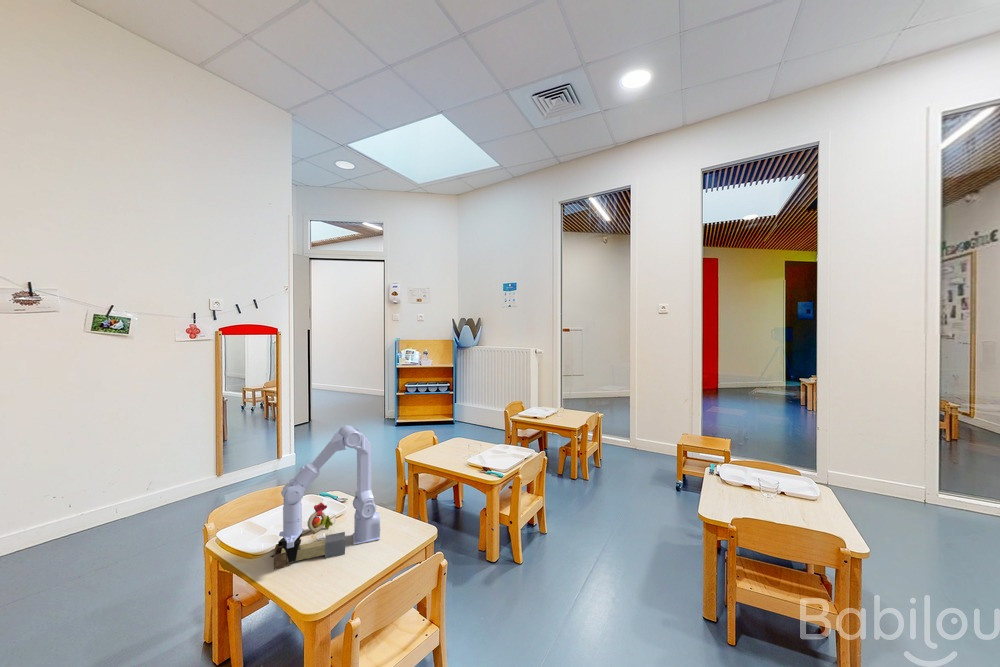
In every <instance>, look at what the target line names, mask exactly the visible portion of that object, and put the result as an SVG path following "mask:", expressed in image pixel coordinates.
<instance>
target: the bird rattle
mask: <svg viewBox="0 0 1000 667" xmlns="http://www.w3.org/2000/svg"><path fill="white" fill-rule="evenodd" d="M327 508H328V505H327V504H324V502H320V503H318V504H315V505H314V506H313V509H314V512H313V513H312V514H311V515H310V516H309V518H308V520H307V527H308V529H309V531H311V532H312V533H313V534H317V532H318V531H320V530H322V529H323V527H324V528H325V529H329V528H330V526H331V527H332V526H333V525H334V523H333V522H332V521H331V517H330V516H329V515H326V513H325V512H324V510H326V509H327Z"/></svg>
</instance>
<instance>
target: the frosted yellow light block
mask: <svg viewBox="0 0 1000 667" xmlns="http://www.w3.org/2000/svg"><path fill="white" fill-rule="evenodd" d="M285 552H286V551H285V549H284V548H282V551H281V553H285ZM321 556H325V539H324V540H317V541H313V542H308V543H303V544H302V543H301V544H300V545H299V547H298V550H297V557H296V560H295V561H290V562H289V561H288V557H287V553H286V563H288V562H289V563H290V564H291V563H295V562H297V561H300V560H301V561H302V560H306V559H312V558H317V557H321Z"/></svg>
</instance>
